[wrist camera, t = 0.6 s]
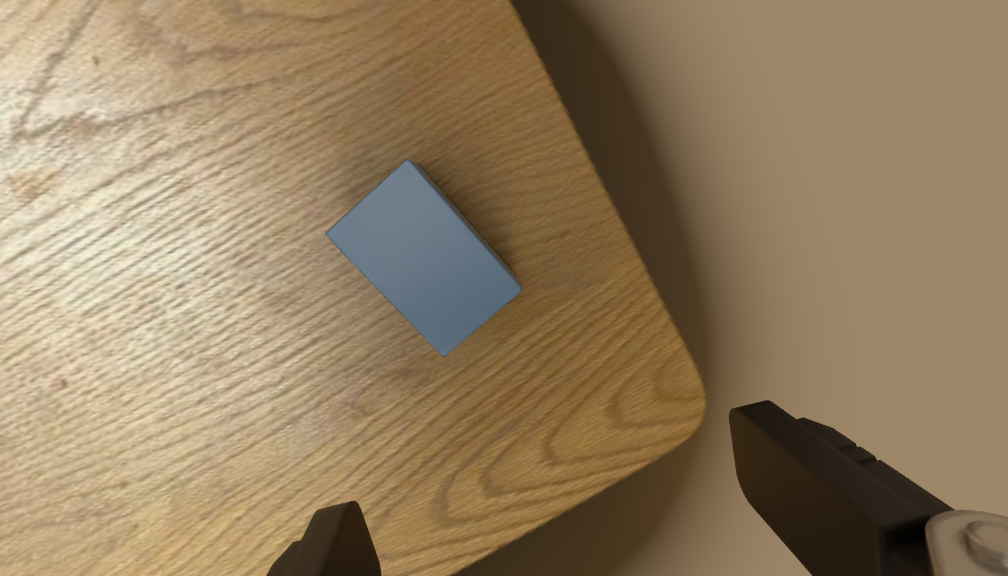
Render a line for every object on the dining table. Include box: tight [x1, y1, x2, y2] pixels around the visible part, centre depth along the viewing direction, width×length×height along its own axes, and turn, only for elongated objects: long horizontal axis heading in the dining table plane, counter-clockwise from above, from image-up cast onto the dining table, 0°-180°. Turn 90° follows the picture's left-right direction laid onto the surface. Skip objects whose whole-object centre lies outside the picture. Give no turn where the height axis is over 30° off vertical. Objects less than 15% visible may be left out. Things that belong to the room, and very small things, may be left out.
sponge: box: [325, 159, 522, 357], centre depth 21 cm, size 7×4×4 cm, turn 41°
